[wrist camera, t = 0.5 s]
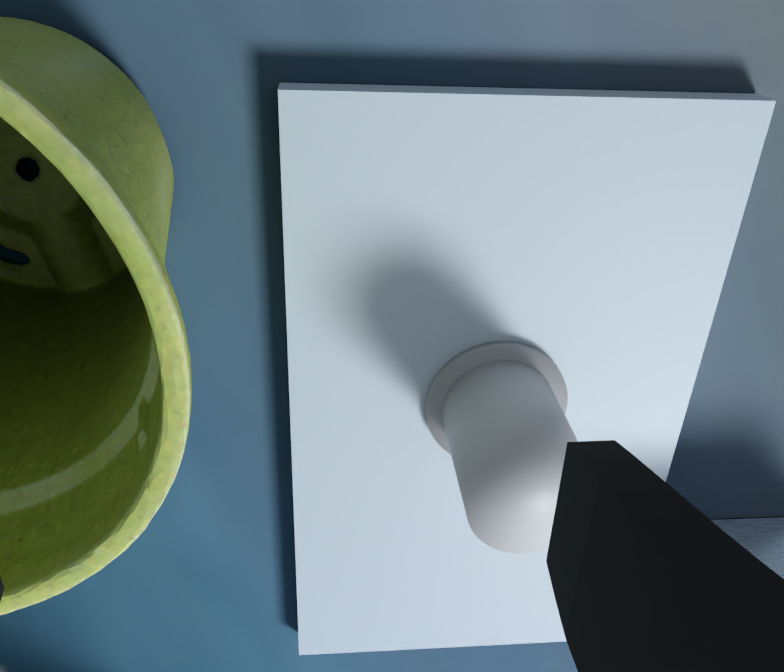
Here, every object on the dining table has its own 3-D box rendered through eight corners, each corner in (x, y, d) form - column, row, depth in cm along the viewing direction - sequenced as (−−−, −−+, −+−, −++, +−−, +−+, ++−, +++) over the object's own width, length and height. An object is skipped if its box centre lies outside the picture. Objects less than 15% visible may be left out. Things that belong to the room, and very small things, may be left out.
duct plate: (612, 619, 26) (669, 753, 21) (299, 634, 25) (295, 779, 20) (757, 93, 17) (901, 148, 13) (279, 82, 16) (265, 138, 12)
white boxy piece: (771, 624, 27) (861, 763, 22) (630, 631, 26) (693, 775, 22) (819, 513, 24) (933, 647, 19) (663, 519, 23) (743, 657, 19)
